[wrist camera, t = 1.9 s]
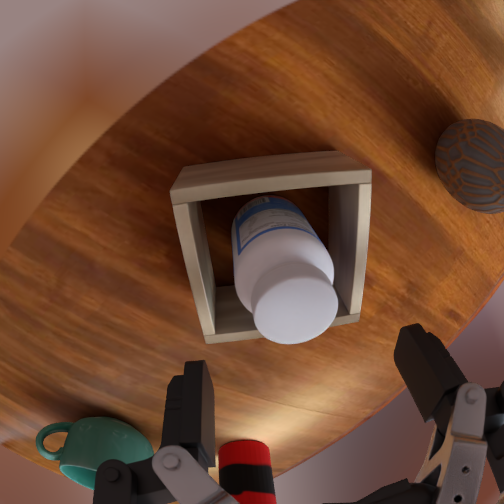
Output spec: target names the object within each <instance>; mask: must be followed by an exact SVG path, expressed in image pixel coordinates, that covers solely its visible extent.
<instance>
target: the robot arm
mask: <svg viewBox="0 0 504 504" xmlns="http://www.w3.org/2000/svg"><path fill="white" fill-rule="evenodd" d="M394 361H395V364H396V366H397V368H398V370H399V372H400V374H401V376H402V378H403V380H404V382H405V383H406V385H407V387H408V389H409V391H410V393H411V395H412V397H413V399H414V401H415V403H416V405H417V407H418V409H419V411H420V413H421V415H422V417H423V419H424V422H425V423H426V422H429V421H431V420H434V421H435V423H436V425H435V426H434V430H433V434H432V438H431V441H430V445H429V448H428V452H427V455H426V459H425V462H424V464H423V466H422V468H421V470H420V472H419V473H418V475H417V478H416V480H415V483H409V482H408V479H407V478H406V479H404V480H401V481H398V482H396V483H393V484H390V485H387V486H384V487H382V488H380V489H378V490H377V491H375V492H373V493H371V494H370V495H368V496H366V497H364V498H363V499H361V500H359V501H357V502H353V503H323V504H476V501H477V496H478V493H479V489H480V484H481V480H482V475H483V470H484V465H485V459H486V457H487V459H488V462H489V464H490V467H491V469H492V472H493V474H494V477H495V479H496V482H497V485H498V488H499V491H500V493H501V495H500V497H499V501H498V503H497V504H504V381H503V383H502V384H501V386H500V387H496V388H488V389H483V388H482V387H481V386H480V385H478V384H476V383H473V382H468V381H467V379H466V378H465V376H464V375H463V373H462V372H461V370H460V368H459V367H458V365H457V364H456V363H455V361H454V359H453V358H452V357H451V356H450V354H449V352H448V351H447V349H445V346H444V345H443V343H442V342H441V341H440V339H439V338H437V337H436V336H435V335H433V334H432V333H431V332H428V333H426V332H425V330H424V329H423V327H422V326H421V325H420V324H419V323H416V324H412V325H408V326H405V327H402V328H401V329H400V333H399V336H398V340H397V343H396V347H395V350H394ZM166 399H167V400H166V404H165V413H164V422H163V431H162V441H161V445H160V447H159V449H158V451H157V452H156V453H155V454H154V455H153V456H151V457H149V458H147V459H145V460H141V461H137V462H133V463H128V464H126V463H124V462H123V461H121V460H117V459H110V460H107V461H104V462H103V463H102V464H100V466H99V467H98V468H97V471H96V476H95V485H94V497H93V504H167V503H171V502H175V501H178V502H179V503H180V504H240V503H239V502H237V501H236V500H235V499H234V498H233V497H232V496H231V495H230V494H229V493H227V492H226V491H225V490H224V489H223V488H221V487H220V486H219V485H218V484H217V482H216V481H215V480H214V479H213V478H212V477H211V476H210V475H209V474H208V467H216V465H215V416H214V389H213V384H212V380H211V377H210V374H209V371H208V368H207V365H206V362H205V360H199V361H186V362H185V367H184V375H176V376H174V377H173V378H172V380H171V382H170V383H169V385H168V388H167V396H166Z"/></svg>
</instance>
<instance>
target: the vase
mask: <svg viewBox="0 0 504 504" xmlns="http://www.w3.org/2000/svg"><path fill="white" fill-rule="evenodd" d="M435 163H436V169H437V173H438V176H439V178H440V180H441V182H442V184H443V185H444V187H445V188H446V190H447V191H448V192H449V193H450V194H451V196H452V197H453V198H455V199H456V200H457V201H458V202H460V203H461V204H463V205H464V206H466V207H468V208H469V209H472V210H474V211H477V212H481V213H488V214H496V213H501V212H504V130H503V129H502V128H500V127H499V126H497V125H495V124H493V123H491V122H488V121H484V120H480V119H465V120H461V121H458V122H455V123H453V124H452V125H450V126H449V127H448V128H447V129H446V130H445V131H444V132H443V133H442V135H441V136H440V138H439V141H438V143H437V147H436V152H435Z"/></svg>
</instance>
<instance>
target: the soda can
mask: <svg viewBox="0 0 504 504" xmlns="http://www.w3.org/2000/svg"><path fill="white" fill-rule="evenodd" d="M218 461H219V486H220V487H221V488H223V489H224V490H225V491H226V492H227V493H229V494H230V495H231V496H232V497H233V498H234V499H235V500H236V501H237V502H239V503H240V504H276V497H275V490H274V482H273V475H272V468H271V461H270V453H269V448H268V447H267V446H266V445H265V444H263V443H261V442H258V441H251V440H242V441H234V442H230V443H227V444H225V445H223V446H222V447H221V448H220V449H219V451H218Z"/></svg>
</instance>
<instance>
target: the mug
mask: <svg viewBox="0 0 504 504" xmlns="http://www.w3.org/2000/svg"><path fill="white" fill-rule="evenodd" d="M56 432H68V435H67V437H66V440H65V444H64V447H61V448H60V449H59V450H58V451H57V452H50V451H48V450H46V449H45V447H44V445H43V441H44V438H45V437H46V436H48V435H50V434H52V433H56ZM36 447H37V449H38V451H39V453H40V454H41V455H42V456H43V457H45V458H47V459H50V460H60V465H59V468H60V471H61V472H62V473H63V474H64V475H65V476H67V477H68V478H70V479H71V480H73V481H75V482H77V483H78V484H81V485H83V486H85V487H87V488H90V489H92V490H94V485H95V476H96V471H97V468H98V467H99V466H100V464H102V463H103V462H104V461H107V460H110V459H117V460H121V461H123V462H124V463H126V464H128V463H133V462H137V461H141V460H145V459H147V458H149V457H151V456H153V455H154V451H153V448H152V446H151V444H150V442H149V441H148V440H147V438H146V437H145V436H144V435H142V434H141V433H140V432H139V431H137V430H136V429H134V428H133V427H132V426H131V425H129V424H127V423H125V422H123V421H120V420H118V419H114V418H110V417H88V418H83V419H80V420H78V421H77V422H75V423H72V422H60V423H54V424H51V425H48V426H46V427H44V428H43V429H42V430H41V431H40V432H39V433H38V435H37V436H36Z"/></svg>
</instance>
